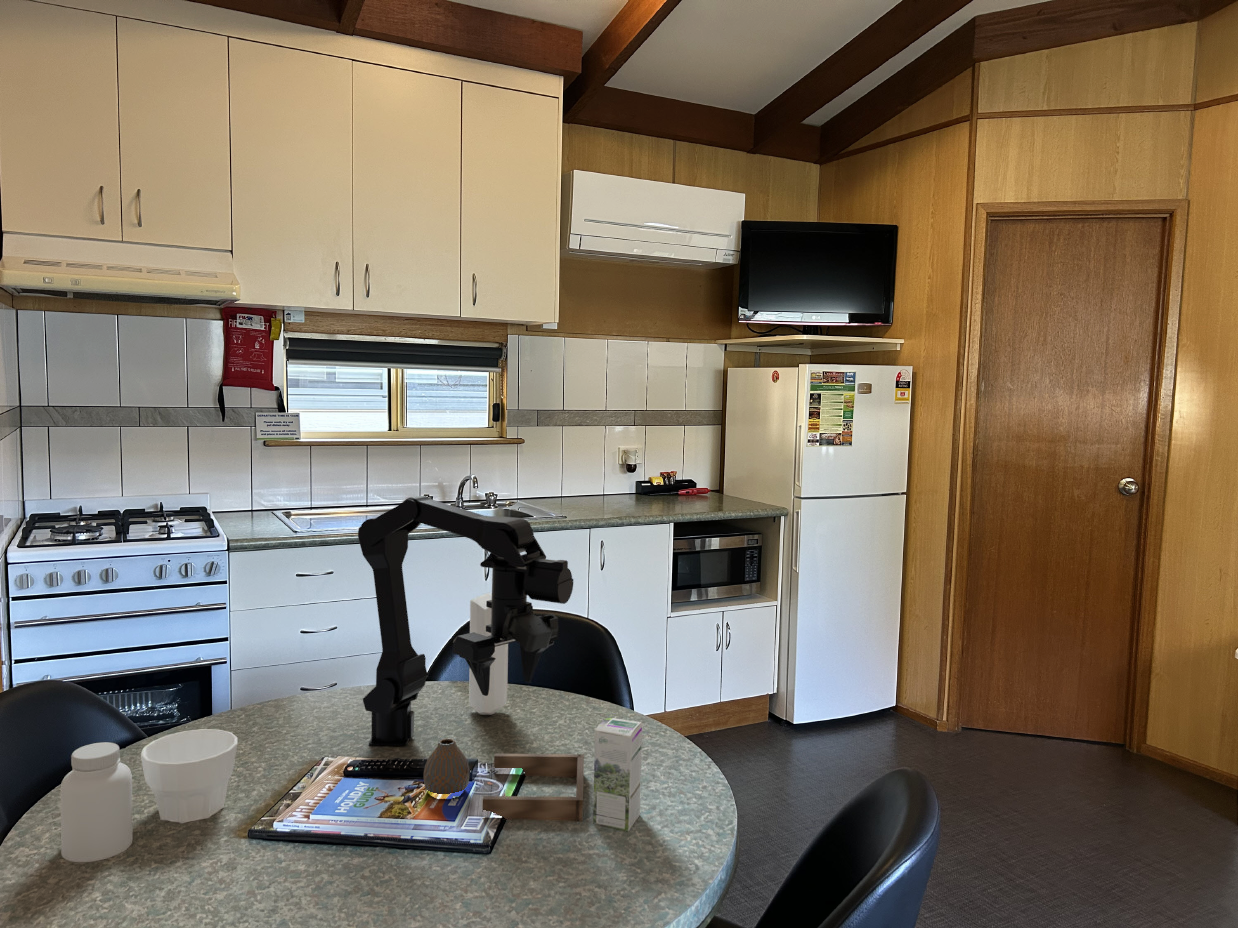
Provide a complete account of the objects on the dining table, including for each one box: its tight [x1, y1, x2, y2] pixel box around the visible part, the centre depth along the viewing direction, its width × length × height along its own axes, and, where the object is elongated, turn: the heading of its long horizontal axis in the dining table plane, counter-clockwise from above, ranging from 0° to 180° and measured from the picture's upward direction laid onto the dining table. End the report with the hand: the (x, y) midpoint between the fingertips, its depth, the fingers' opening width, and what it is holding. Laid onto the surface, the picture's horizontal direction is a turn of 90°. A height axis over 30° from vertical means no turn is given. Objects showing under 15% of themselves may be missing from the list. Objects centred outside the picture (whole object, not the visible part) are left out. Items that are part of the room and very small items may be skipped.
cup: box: [140, 728, 239, 824], centre depth 123 cm, size 12×12×11 cm
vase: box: [423, 738, 470, 794], centre depth 133 cm, size 7×7×9 cm
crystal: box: [468, 592, 509, 716], centre depth 165 cm, size 7×7×24 cm
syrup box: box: [592, 717, 643, 832], centre depth 126 cm, size 6×6×14 cm
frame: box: [482, 753, 585, 822], centre depth 133 cm, size 14×16×4 cm
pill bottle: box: [59, 741, 133, 863], centre depth 112 cm, size 8×8×15 cm
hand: (506, 688), depth 143 cm, fingers open, 9 cm apart
